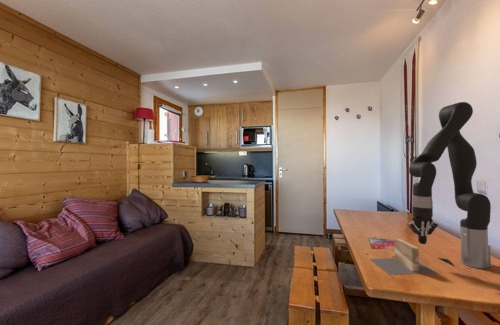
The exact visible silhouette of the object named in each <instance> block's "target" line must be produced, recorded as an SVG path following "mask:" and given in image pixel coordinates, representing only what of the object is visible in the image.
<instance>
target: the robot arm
mask: <svg viewBox="0 0 500 325" xmlns="http://www.w3.org/2000/svg"><path fill="white" fill-rule="evenodd" d="M473 113H474V109H473V106H472V104H470V103H469V102H466V101H462V102H457V103H456V102H455V103H453V104H450V105H447V106H443V107H441V109H440V110H439V112H438V118H439V119H438V120H439V123H440V126H441V129H440V130H439V131H438V132H437V133H436V134H435V135H434V136H432V138H430V140H429V141H428V142H427V143H426V146H425V147H424V149H423V150H422V152H421V153H420V154H419V155H418V156H417V157H416V158H415V159H414V160H413V161H412V162H411V163H410V165H409V167H408V172H409V174H410V176H411V177H415V178H420V179H419V182H415V183H413V184H412V200H411V201H412V206H411V207H412V209H411V210H412V212H411V214H412V219H411V221H410V222H407V226H408V228H409V229H411V231H412V232H413V234H416V235H417V237H418V238H417V240H418V242H419V244H421V245H426V244H427V242H428V241H427V240H428V236H429V235H430V236H431V235H432V233H433V232H434V231H435V230H436V228H437V227H438V226H439V225H438V223H435V222H434V220H433V216H434V215H433V214H434V213H433V211H434V206H433V204H434V203H433V185H434V182H435V179H436V177H437V168H436V166H435V164H433V163H436V162H437V161H439V160H440V159H441V157H442V155H443V154H444V152H445V150H446V148H447V152H448V154H447V155H448V158H449V163H450V164H449V165H450V168H451V173H452V179H453V180H452V181H453V186H454V200H455V204H456V206H457V208H459V210H461V211H464V212H467V213H466V214H467V215H466V218H462V219H460V221H459V227H460V228H459V229H460V231H459V232H460V261H461V264H463V265H465V266H468V267H471V268H475V269H483V270H485V269H488V268H491V267H492V265H491V264H492V263H491V262H492V259H491V258H492V257H491V255H492V254H491V245H490V244H489V229H488V227H489V225H490V223H491V209H492V208H491V207H492V206H491V201H490V199H489V197H488V196H486V195H485V194H484V193H483V194H482V193H477V192H474V190H473V183H472V180H473V176H474V173H475V171H476V169H477V166H478V164H477V162H478V161H477V157H476V152H475V149H474V147H473V146H472V144H470V143H469V141H468V140H467V139H466V138H464V136H463V135H462V134H461V130H462V128H463V127H464V126H465V125H466V124H467V122H469V120H471V117H472V116H473Z"/></svg>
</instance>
